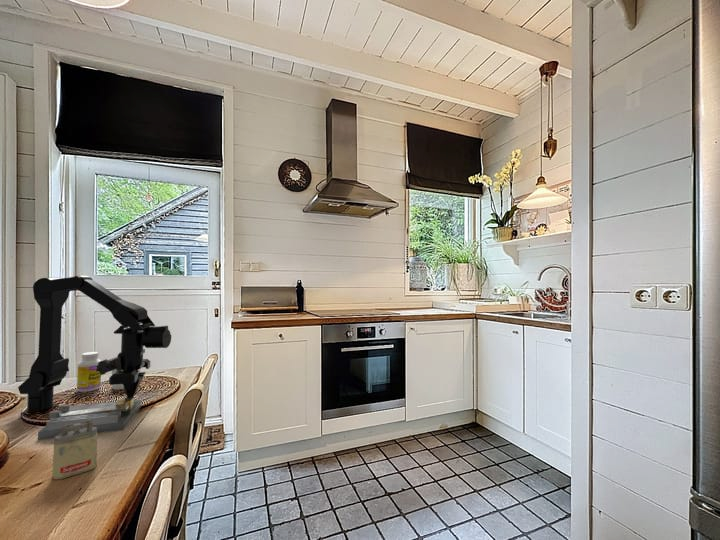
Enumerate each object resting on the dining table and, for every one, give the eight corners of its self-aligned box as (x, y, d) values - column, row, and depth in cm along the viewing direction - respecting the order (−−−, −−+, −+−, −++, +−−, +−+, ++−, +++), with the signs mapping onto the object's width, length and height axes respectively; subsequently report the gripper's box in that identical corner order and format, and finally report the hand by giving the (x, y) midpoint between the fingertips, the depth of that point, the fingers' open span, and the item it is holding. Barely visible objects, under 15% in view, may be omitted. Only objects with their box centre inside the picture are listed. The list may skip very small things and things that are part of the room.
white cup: (136, 386, 126) (137, 358, 126) (115, 390, 120) (116, 362, 120) (127, 382, 129) (128, 356, 129) (107, 387, 124) (108, 359, 124)
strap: (54, 420, 89) (54, 416, 89) (60, 416, 92) (60, 412, 92) (125, 411, 95) (125, 407, 95) (129, 407, 98) (129, 403, 98)
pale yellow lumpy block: (119, 407, 100) (119, 398, 100) (133, 406, 101) (133, 397, 101) (112, 414, 94) (113, 405, 94) (127, 413, 96) (128, 403, 96)
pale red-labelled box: (52, 482, 67) (54, 431, 67) (51, 474, 70) (53, 424, 70) (97, 468, 72) (99, 420, 72) (95, 461, 75) (96, 415, 75)
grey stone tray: (71, 412, 101) (71, 395, 101) (141, 405, 107) (142, 389, 107) (37, 440, 84) (38, 419, 84) (123, 430, 90) (124, 410, 90)
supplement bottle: (87, 393, 117) (88, 355, 118) (71, 391, 119) (72, 354, 119) (105, 387, 124) (106, 351, 124) (90, 385, 125) (91, 350, 125)
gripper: (112, 343, 111) (110, 391, 111) (87, 356, 93) (85, 413, 93) (151, 341, 115) (150, 388, 114) (134, 353, 97) (133, 409, 97)
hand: (130, 398), depth 104 cm, fingers closed
